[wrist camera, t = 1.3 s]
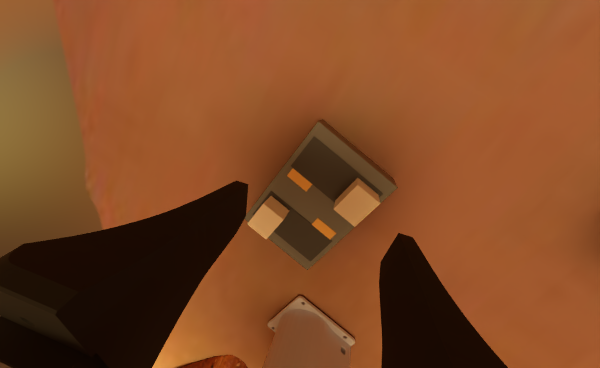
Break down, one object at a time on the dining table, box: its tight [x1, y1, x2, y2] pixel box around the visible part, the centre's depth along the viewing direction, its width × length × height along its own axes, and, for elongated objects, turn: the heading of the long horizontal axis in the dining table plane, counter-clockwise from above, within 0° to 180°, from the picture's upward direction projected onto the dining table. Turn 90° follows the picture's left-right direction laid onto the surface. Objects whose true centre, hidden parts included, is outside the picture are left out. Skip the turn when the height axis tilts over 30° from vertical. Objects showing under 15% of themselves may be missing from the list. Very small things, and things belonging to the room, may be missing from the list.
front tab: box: [334, 178, 380, 227], centre depth 20 cm, size 2×3×2 cm
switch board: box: [244, 120, 398, 270], centre depth 24 cm, size 9×13×3 cm
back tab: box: [248, 196, 289, 239], centre depth 23 cm, size 2×3×2 cm
